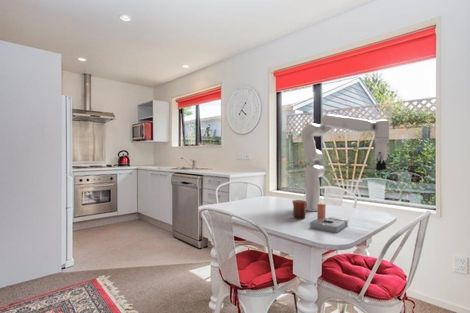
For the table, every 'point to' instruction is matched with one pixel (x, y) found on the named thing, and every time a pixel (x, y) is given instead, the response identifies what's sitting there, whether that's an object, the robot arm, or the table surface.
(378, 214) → the table surface
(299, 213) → the mug
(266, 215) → the table surface
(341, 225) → the square hole plate
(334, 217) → the tilted grey slab block
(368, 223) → the table surface
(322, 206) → the pin
